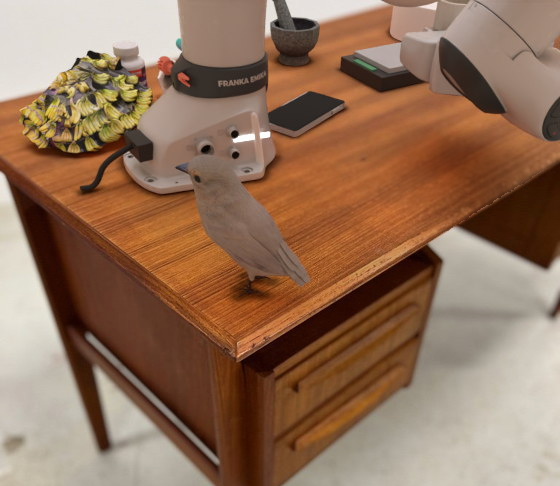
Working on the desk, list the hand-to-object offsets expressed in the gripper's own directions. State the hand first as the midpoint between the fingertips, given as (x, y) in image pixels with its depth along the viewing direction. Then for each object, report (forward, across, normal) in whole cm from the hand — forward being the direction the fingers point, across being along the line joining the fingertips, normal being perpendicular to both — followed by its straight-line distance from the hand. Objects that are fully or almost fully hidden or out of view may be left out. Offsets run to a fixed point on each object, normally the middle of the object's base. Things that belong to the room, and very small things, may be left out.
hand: (450, 31), depth 83 cm
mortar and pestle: (+37, +14, +15) cm, 43 cm away
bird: (-33, +36, +15) cm, 51 cm away
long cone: (+40, +37, +14) cm, 56 cm away
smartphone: (+10, +19, +15) cm, 26 cm away
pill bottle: (+19, +46, +15) cm, 53 cm away
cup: (-1, 0, +6) cm, 6 cm away
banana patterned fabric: (+10, +53, +13) cm, 56 cm away
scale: (+26, -3, +15) cm, 30 cm away
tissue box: (+49, -26, +15) cm, 57 cm away
